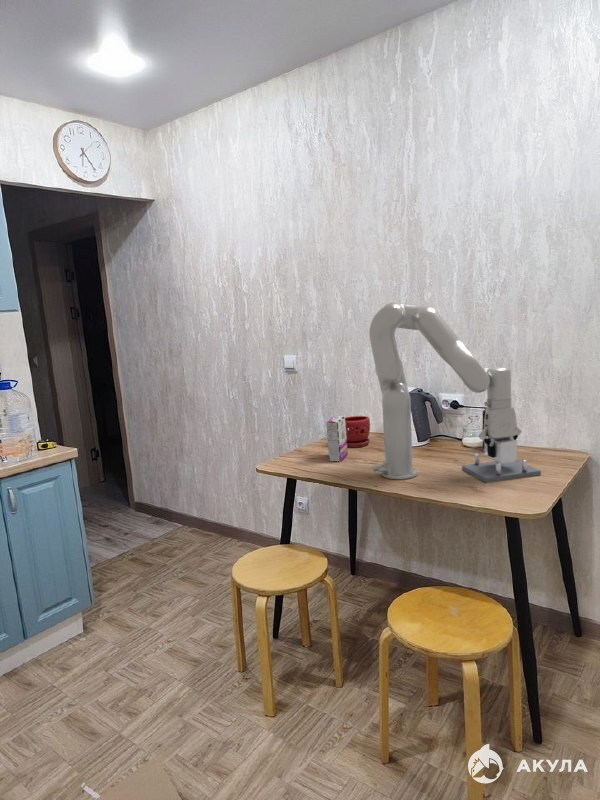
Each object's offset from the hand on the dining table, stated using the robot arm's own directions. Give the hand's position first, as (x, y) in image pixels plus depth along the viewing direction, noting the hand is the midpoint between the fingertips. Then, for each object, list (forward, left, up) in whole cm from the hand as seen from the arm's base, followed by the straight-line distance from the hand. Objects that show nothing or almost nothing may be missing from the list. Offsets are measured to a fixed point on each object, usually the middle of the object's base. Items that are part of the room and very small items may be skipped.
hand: (500, 454), depth 187 cm
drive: (0, 0, -1) cm, 1 cm away
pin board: (0, 0, -6) cm, 6 cm away
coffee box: (+14, +26, -6) cm, 30 cm away
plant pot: (-33, +60, -6) cm, 69 cm away
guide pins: (0, 0, -5) cm, 5 cm away
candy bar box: (-46, +42, -6) cm, 63 cm away
